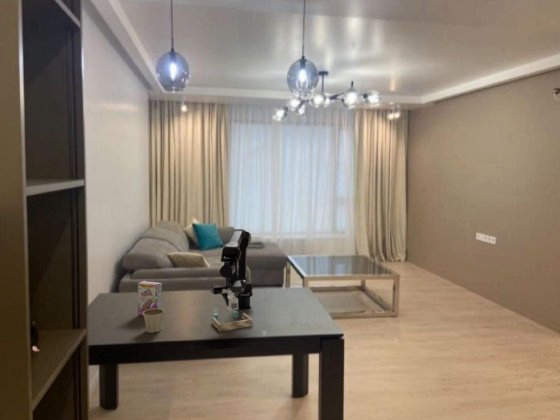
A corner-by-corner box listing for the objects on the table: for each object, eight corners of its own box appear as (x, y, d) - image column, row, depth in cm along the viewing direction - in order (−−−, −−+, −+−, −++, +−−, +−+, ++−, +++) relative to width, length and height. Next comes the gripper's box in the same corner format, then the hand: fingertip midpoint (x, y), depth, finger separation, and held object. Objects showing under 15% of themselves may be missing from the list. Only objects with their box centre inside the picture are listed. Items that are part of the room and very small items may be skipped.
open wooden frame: (244, 318, 208) (244, 312, 208) (252, 325, 198) (252, 319, 198) (212, 323, 201) (212, 317, 201) (219, 331, 192) (218, 324, 191)
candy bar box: (137, 315, 213) (136, 283, 211) (144, 312, 217) (143, 280, 216) (157, 318, 209) (156, 285, 208) (163, 315, 214) (162, 282, 212)
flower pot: (145, 327, 197) (144, 308, 196) (166, 326, 198) (166, 308, 197) (140, 334, 188) (140, 315, 187) (162, 334, 188) (162, 314, 188)
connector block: (233, 305, 203) (233, 295, 203) (239, 310, 197) (239, 299, 196) (225, 306, 201) (225, 296, 201) (230, 311, 195) (230, 300, 194)
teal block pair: (236, 316, 212) (236, 310, 211) (238, 317, 210) (238, 311, 210) (213, 320, 206) (213, 313, 206) (214, 321, 205) (214, 315, 204)
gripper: (217, 278, 187) (217, 313, 188) (257, 274, 195) (257, 308, 196) (209, 273, 197) (210, 306, 198) (248, 269, 205) (248, 301, 206)
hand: (231, 305), depth 199 cm, fingers closed on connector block, 4 cm apart
